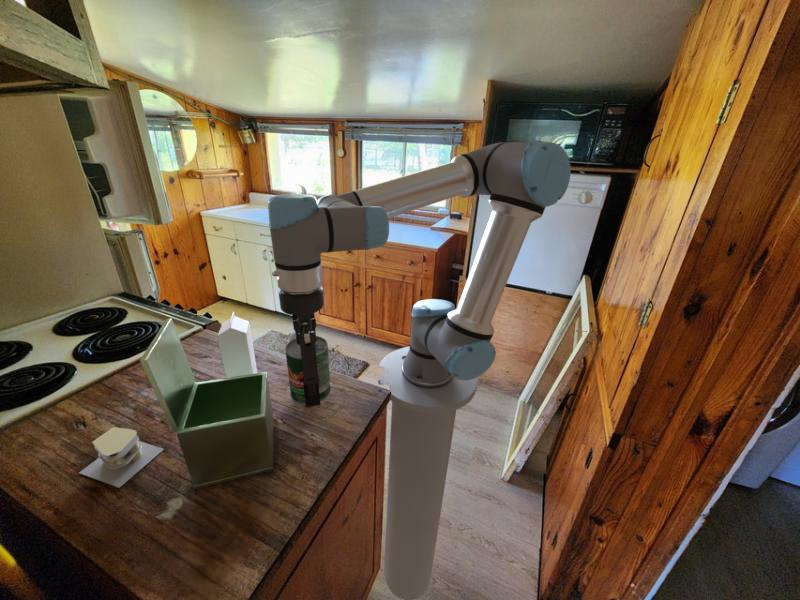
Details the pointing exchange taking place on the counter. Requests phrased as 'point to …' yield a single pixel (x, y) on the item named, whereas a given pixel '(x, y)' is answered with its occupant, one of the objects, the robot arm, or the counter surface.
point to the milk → (237, 347)
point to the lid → (169, 373)
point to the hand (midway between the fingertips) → (311, 390)
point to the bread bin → (228, 429)
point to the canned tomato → (297, 370)
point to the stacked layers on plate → (119, 456)
